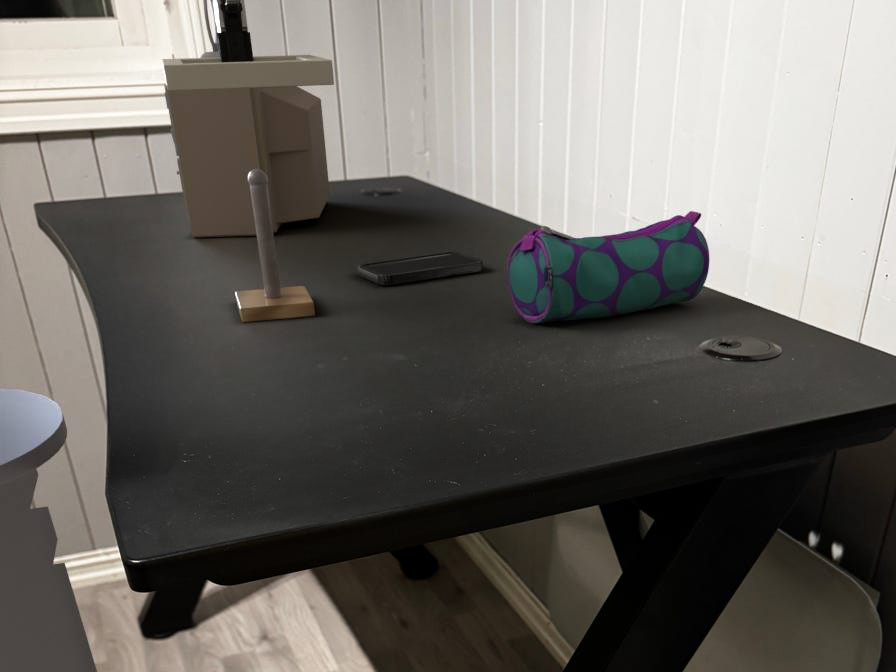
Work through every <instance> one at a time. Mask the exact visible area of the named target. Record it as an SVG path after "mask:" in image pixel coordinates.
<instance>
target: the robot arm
mask: <svg viewBox="0 0 896 672" xmlns="http://www.w3.org/2000/svg"><path fill="white" fill-rule="evenodd" d="M213 2H214V9H215V16H216V23H217V29H218V32H219V33H216V36H217V43H218V50H219V57H221V61H222V63H223V62H254V60H253V57H254V53H253V44H252V36H251V32H250V31H249V29H248V28H249V27H248V21H247V11H246V5H245V0H213Z"/></svg>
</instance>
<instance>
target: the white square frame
mask: <svg viewBox="0 0 896 672" xmlns="http://www.w3.org/2000/svg"><path fill="white" fill-rule="evenodd" d="M253 60H254V62H223V63H222V61H221V57H219V58H200V57H196V58H195V57H192V58H191V57H189V58H188V57H187V58H185V57H184V58H162V59H161V63H162V69H163V74H164V80H165V84H166V85H167V89H168V91H176V90H204V89H232V88H260V87H287V86H297V87H311V86H334V85H335V78H334V68H333V60H332V59H329V58H325V57H320V56H315V55H312V54H298V55H297V54H293V55H291V54H289V55H260V56H259V55H258V56H257V55H255V56H254V55H253Z"/></svg>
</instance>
